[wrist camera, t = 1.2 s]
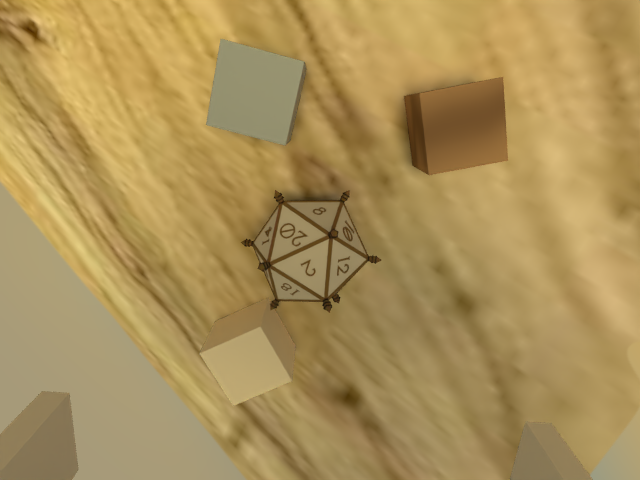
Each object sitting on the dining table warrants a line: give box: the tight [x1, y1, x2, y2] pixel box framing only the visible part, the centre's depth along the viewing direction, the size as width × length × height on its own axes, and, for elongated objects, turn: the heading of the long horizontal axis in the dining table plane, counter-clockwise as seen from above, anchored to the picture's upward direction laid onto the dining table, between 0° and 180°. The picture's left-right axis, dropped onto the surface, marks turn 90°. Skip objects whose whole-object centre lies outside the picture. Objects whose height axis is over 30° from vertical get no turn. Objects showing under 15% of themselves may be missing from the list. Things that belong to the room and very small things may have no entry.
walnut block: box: [404, 77, 508, 175], centre depth 29 cm, size 5×5×5 cm
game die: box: [241, 190, 381, 313], centre depth 30 cm, size 9×8×10 cm
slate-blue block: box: [206, 39, 307, 145], centre depth 28 cm, size 5×5×5 cm
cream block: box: [199, 298, 296, 406], centre depth 34 cm, size 5×5×5 cm
